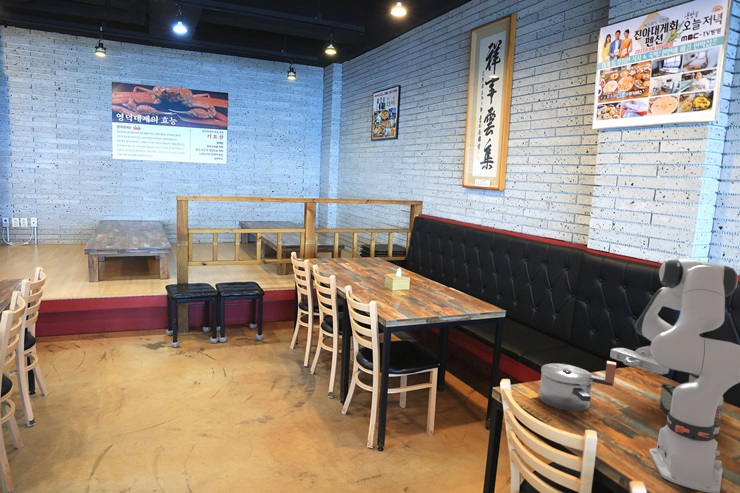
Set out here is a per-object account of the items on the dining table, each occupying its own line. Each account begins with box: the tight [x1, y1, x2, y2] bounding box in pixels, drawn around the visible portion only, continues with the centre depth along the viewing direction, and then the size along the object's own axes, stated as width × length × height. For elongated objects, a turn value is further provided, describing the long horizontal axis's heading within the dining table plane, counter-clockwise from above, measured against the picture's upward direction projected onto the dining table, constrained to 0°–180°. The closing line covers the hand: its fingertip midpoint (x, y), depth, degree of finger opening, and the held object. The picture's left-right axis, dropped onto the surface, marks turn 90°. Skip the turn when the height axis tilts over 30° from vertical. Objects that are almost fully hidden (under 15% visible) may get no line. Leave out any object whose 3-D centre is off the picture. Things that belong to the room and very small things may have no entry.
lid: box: [540, 360, 617, 387], centre depth 184 cm, size 25×19×8 cm
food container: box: [659, 382, 678, 418], centre depth 180 cm, size 12×6×10 cm, turn 168°
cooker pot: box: [538, 373, 593, 412], centre depth 184 cm, size 27×18×10 cm
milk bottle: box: [714, 394, 724, 436], centre depth 169 cm, size 8×8×20 cm
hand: (627, 363), depth 184 cm, fingers closed
